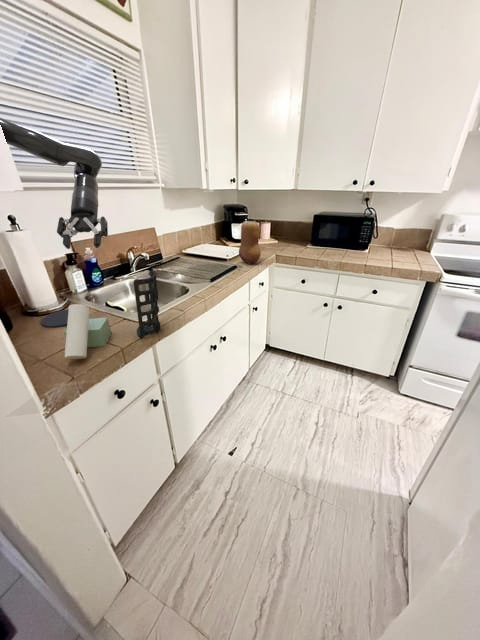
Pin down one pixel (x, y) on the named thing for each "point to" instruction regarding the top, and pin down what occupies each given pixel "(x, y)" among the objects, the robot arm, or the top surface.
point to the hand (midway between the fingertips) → (81, 247)
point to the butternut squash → (250, 242)
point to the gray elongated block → (77, 332)
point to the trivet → (56, 319)
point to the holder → (153, 292)
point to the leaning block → (97, 332)
